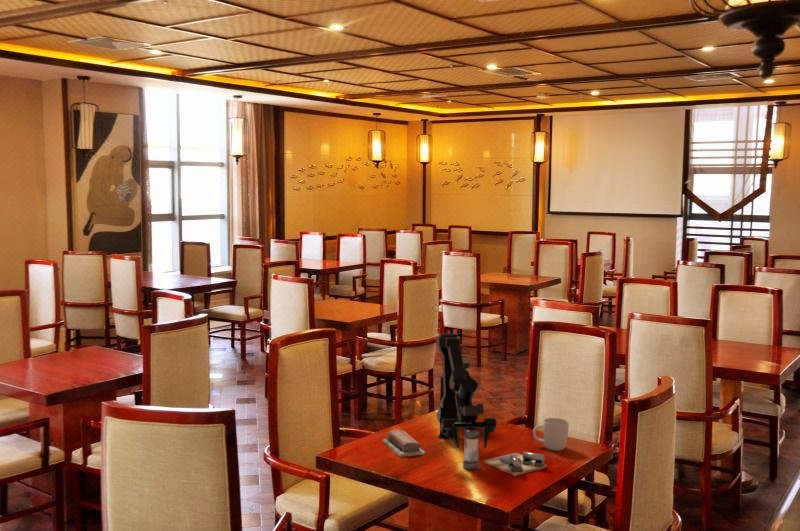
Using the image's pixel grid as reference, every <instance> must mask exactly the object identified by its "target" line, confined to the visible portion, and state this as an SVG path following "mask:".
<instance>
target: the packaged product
mask: <svg viewBox="0 0 800 531" xmlns="http://www.w3.org/2000/svg"><path fill="white" fill-rule="evenodd" d="M386 434H387V435H386V438H383V439H382V443H383V444H385V445H386V446H387V447H388V448H389V450H391V452H393V453H394V454H395V455H397V456H398V457H399V458H404V457H413V456H422V455H426V451H425V450H424V449H422V448H421V443H419V442H418V441H417V440H416V439H414V438H413V437H412V436H410V434H408V433H407V432H406V431H405V430H402V429H395V430H394V429H393V430H389V431H387V433H386Z"/></svg>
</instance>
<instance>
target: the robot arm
mask: <svg viewBox="0 0 800 531" xmlns="http://www.w3.org/2000/svg"><path fill="white" fill-rule="evenodd" d="M435 342H436V344H435V345H436V346H437V350H438V353H440V355H441V357H442V375H443V385H444V396H443V398H442V400H441V401H440V400H439V406H438V409H437V413H436V420H437V421H438V422H439V434H438V436H437V437H438V438H441V439H448V440H451V441H452V443H453V444H454V446H455V447H456V449H457V450H460V442H459V437H458V436H459V435H460V429H466V428H476V429H481V431H482V432H481V437H482V442H483V447H484V449H487V447H488V446H487V445H488V439H489V435H490V434H491V433H493V432H494V431H495V429H496V428H497V426H498V425H497V424H498V422H497V419H496V418H495V417H484V418H483V420H482V421H477V420H478V418H479V416H480V415H481V414H484V413H485V410H484V404H483V403H477V404H476V405H474V402H473V399H474V397H475V395H476V392H477V390H478V388H479V385H478V382H477V381H476V380H475V379H474V378H472V376H471V374H470V371H469V372H468V371H467V370H466V369H465V368H464V364H463V360H464V359H463V355H462V350H461V336H459V335H457V334H456V333H453V332H452V333H450V332H449V333H443V332H442V333H439V334H438V336H436V338H435ZM456 391H458V393H457V394H456Z"/></svg>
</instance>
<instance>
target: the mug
mask: <svg viewBox="0 0 800 531" xmlns="http://www.w3.org/2000/svg"><path fill="white" fill-rule="evenodd" d="M569 426H570V425H569V421H568V420H566V419H563V418H560V417H559V418H558V417H548V418H545V419H544V420H543V424H542V423H541V424H540V423H539V424H537V425H536V426H535V427H534V428H533V429H532V435H533V438H534V440H536V441H537V442H539V443H543V444H544V446H545V448H546V449H548V450H551V451H557V452H558V451H559V452H560V451H563V450H564V449H565V448H566V445H567V443H568V438H569ZM540 428H542V431H543V432H542V433H543V438H540V437H538V435H537V430H538V429H540Z"/></svg>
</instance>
